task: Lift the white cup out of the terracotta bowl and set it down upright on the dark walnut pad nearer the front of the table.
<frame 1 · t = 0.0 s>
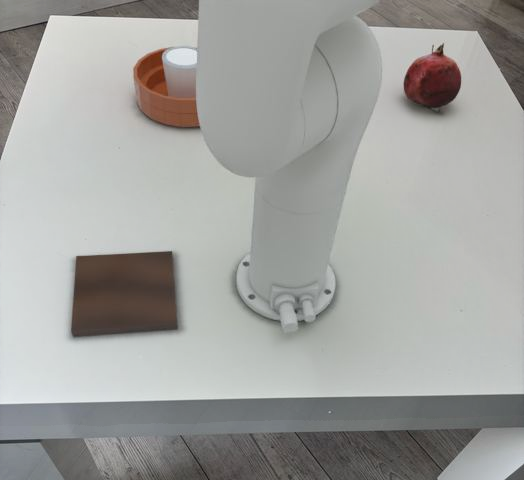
fruit: (425, 104, 96), on the table
bowl: (186, 101, 92), on the table
white cup: (186, 99, 91), resting on bowl
passion flower: (289, 61, 102), on the table
pad: (125, 294, 67), on the table
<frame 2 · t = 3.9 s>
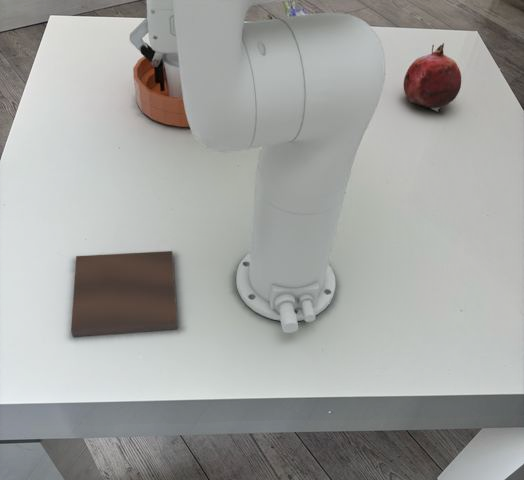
hand: (185, 85, 89), 3 cm above the table, tool pointing down, fingers closed on white cup, 6 cm apart
white cup: (186, 99, 91), resting on bowl, touching gripper
everything else where it was.
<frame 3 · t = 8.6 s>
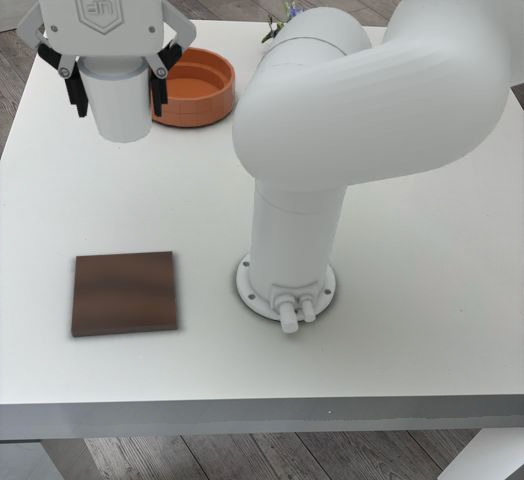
hand: (121, 108, 56), 19 cm above the table, tool pointing down, fingers closed on white cup, 6 cm apart
white cup: (124, 129, 58), point 17 cm above the table, touching gripper
everything else where it was.
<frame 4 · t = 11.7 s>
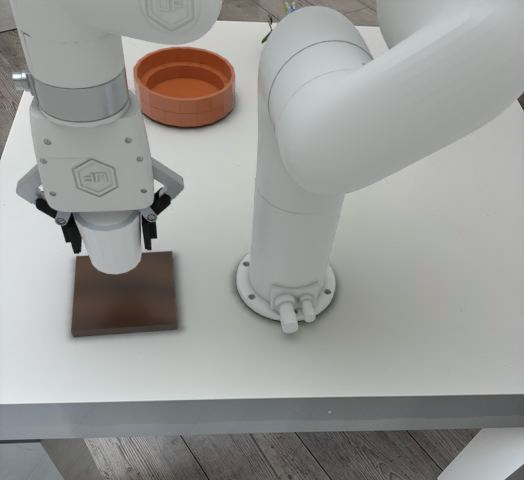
hand: (113, 242, 60), 9 cm above the table, tool pointing down, fingers closed on white cup, 6 cm apart
white cup: (116, 257, 62), point 6 cm above the table, touching gripper
everything else where it was.
when the fingers open (3 cm above the table, at t = 13.6 s): white cup stays where it is, resting on pad.
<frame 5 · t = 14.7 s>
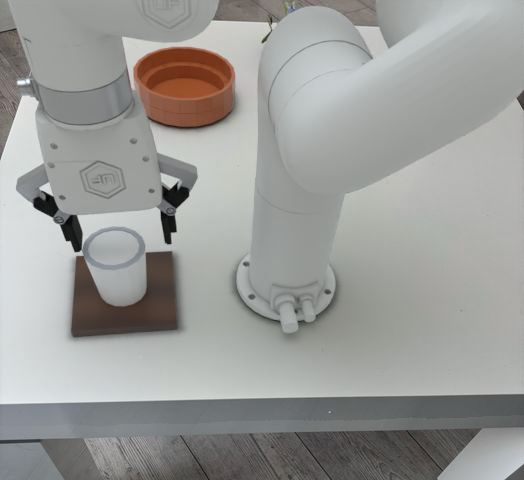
hand: (123, 239, 60), 9 cm above the table, tool pointing down, fingers open, 9 cm apart
white cup: (123, 289, 66), point 1 cm above the table, touching pad
everything else where it was.
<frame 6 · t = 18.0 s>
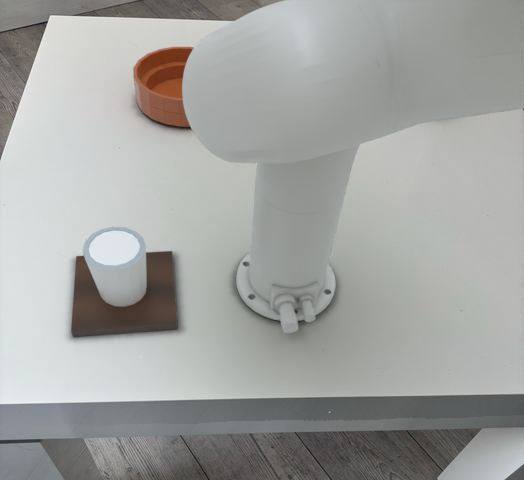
nothing on the table moved.
at the end: white cup inside the target area on the pad (0.2 cm from its centre), point 0.8 cm above the pad's base; white cup tilted 0°; the gripper is holding nothing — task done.
